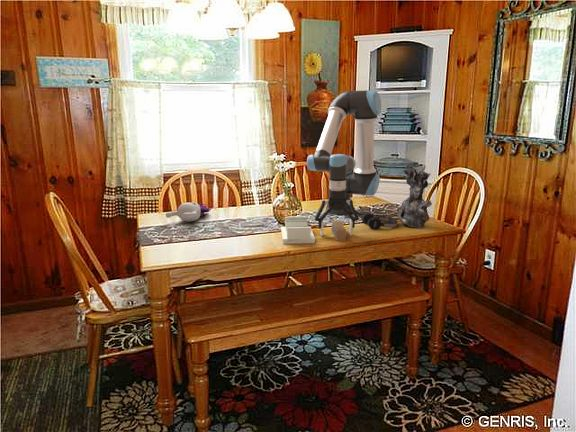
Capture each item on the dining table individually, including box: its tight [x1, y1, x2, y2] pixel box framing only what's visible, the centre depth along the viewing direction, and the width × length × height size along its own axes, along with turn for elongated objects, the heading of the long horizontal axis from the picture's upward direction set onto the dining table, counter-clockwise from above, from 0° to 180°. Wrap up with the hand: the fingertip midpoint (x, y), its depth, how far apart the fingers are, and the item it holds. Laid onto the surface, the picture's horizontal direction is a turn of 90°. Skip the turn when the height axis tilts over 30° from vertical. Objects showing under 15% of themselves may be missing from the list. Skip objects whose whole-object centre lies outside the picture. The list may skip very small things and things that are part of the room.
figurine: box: [165, 202, 212, 223], centre depth 228 cm, size 16×10×30 cm
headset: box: [358, 205, 398, 230], centre depth 217 cm, size 14×10×20 cm
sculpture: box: [397, 164, 433, 229], centre depth 214 cm, size 14×15×30 cm
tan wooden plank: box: [331, 220, 347, 241], centre depth 202 cm, size 15×4×5 cm, turn 3°
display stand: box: [280, 215, 316, 245], centre depth 200 cm, size 19×14×7 cm
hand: (336, 235), depth 202 cm, fingers open, 13 cm apart
